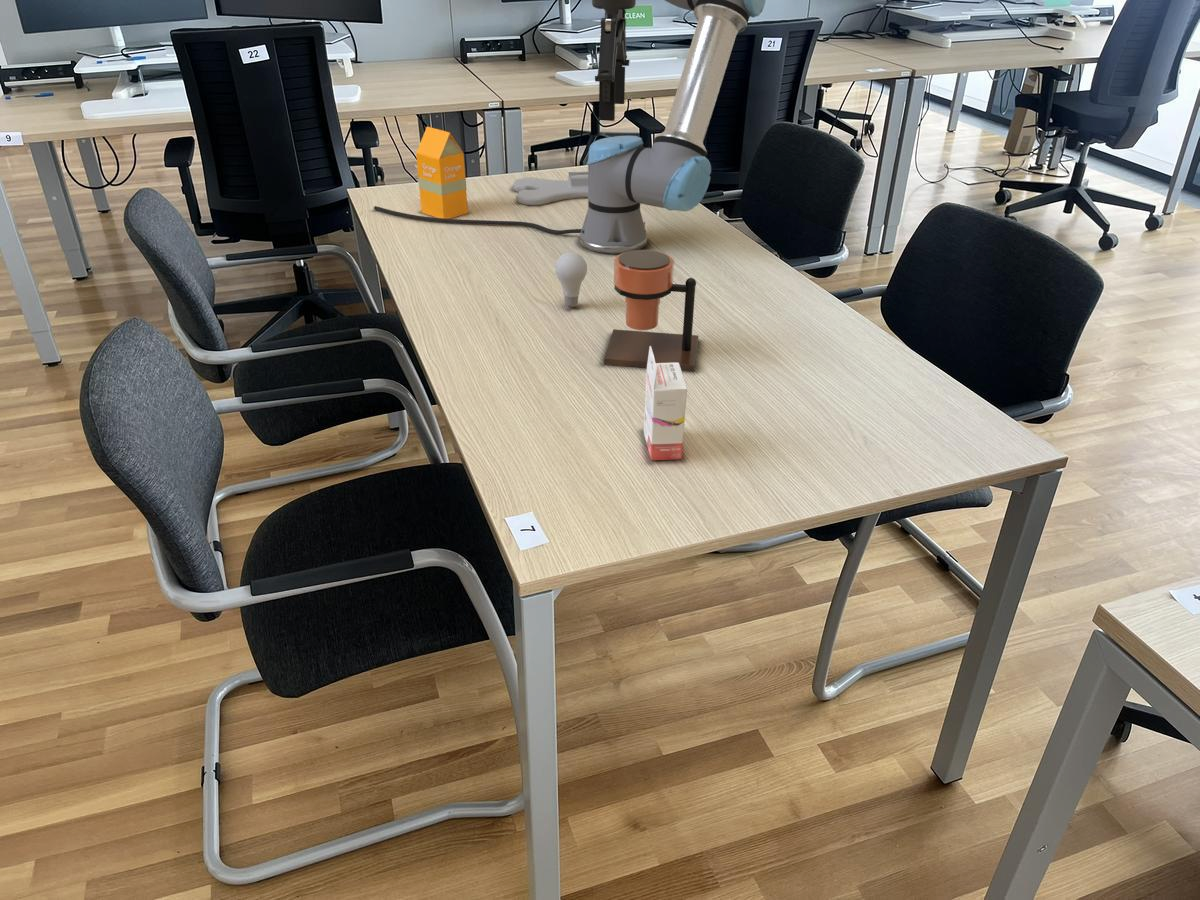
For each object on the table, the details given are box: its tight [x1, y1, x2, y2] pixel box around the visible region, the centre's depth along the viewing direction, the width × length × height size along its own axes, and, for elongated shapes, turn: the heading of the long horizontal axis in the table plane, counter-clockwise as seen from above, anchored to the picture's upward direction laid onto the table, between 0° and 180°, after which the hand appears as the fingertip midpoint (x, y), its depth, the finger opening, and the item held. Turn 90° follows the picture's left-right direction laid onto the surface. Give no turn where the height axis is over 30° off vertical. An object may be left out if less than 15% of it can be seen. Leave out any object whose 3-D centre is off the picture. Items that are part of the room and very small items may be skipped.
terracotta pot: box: [613, 249, 675, 331], centre depth 157 cm, size 10×10×12 cm
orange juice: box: [415, 125, 469, 219], centre depth 221 cm, size 8×9×20 cm
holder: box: [512, 170, 588, 206], centre depth 240 cm, size 19×34×5 cm, turn 100°
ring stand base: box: [603, 329, 700, 372], centre depth 162 cm, size 16×12×1 cm
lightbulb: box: [554, 251, 588, 309], centre depth 176 cm, size 6×6×11 cm
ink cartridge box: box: [643, 346, 688, 461], centre depth 133 cm, size 9×5×15 cm, turn 5°
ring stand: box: [613, 277, 697, 351], centre depth 159 cm, size 14×10×13 cm
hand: (612, 111), depth 168 cm, fingers open, 13 cm apart
